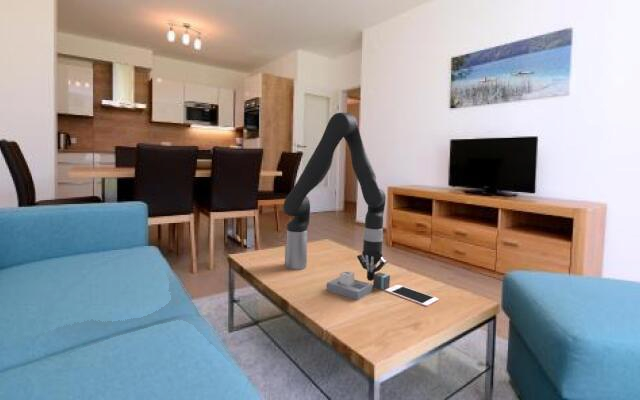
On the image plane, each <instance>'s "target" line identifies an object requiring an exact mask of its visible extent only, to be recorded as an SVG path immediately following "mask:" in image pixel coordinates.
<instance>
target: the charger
mask: <svg viewBox="0 0 640 400" xmlns="http://www.w3.org/2000/svg"><path fill="white" fill-rule="evenodd" d="M339 277H340V284H342V285H346V286H349V285H351V284H353V283H354V279H355V272H353V271H348V270H344V271H341V272H340V273H339Z"/></svg>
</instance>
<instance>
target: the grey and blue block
mask: <svg viewBox="0 0 640 400" xmlns="http://www.w3.org/2000/svg"><path fill="white" fill-rule="evenodd" d="M372 281H373V283H372V288H376V289H377V290H378V289H379V290H382V291H385V290H386V289H388V288H390V281H391V275H390V274H388V273H382V272H379V271H378V272H376V273H375V274H374V279H373V280H372Z"/></svg>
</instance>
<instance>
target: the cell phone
mask: <svg viewBox="0 0 640 400" xmlns="http://www.w3.org/2000/svg"><path fill="white" fill-rule="evenodd" d="M384 292H386V293H387V294H388V293H389V294H391V295H394V296H395V297H396V296H397V297H399V298H402V299H404V300H408V301H410V302H412V303H415V304H418V305H421V306H423V307H426V308H427V307H429V306H431V305H433V304H435V303H437V302H438V301H439V300H440V299H439V298H438V297H436V296H432V295H429V294H427V293H423V292H421V291H418V290H416V289H412V288H409V287H406V286H405V285H401V284H395V285H393V286H391V287H389V288H387V289H386V290H384Z"/></svg>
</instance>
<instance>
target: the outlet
mask: <svg viewBox="0 0 640 400" xmlns="http://www.w3.org/2000/svg"><path fill="white" fill-rule="evenodd" d="M372 288H373V283H372V284H371V283H368V282H365V281H361V280H357V279H355V278H354V283H353V284H351V285H349V286H346V285H342V284H340V276H338V277H336V278H334V279H331V280H329V281H327V282H326V291H327V292H328V291H329V292H330V293H334V294H338V295H341V296H344V297H346V298H350V299H354V300H356V301H359V300H361V299H362V298H364V297H365V296H368V295H369V294H370V293H372V290H373V289H372Z"/></svg>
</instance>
